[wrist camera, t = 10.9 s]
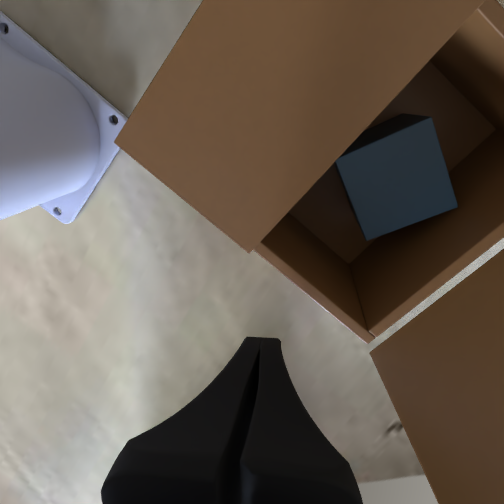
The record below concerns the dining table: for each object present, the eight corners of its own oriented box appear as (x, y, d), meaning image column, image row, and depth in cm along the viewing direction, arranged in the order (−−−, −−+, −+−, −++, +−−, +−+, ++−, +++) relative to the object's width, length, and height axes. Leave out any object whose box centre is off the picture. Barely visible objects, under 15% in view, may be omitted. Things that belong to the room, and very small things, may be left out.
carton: (506, 127, 19) (644, 144, 11) (347, 271, 23) (370, 355, 15) (317, -69, 17) (330, -210, 9) (180, 126, 21) (110, 141, 13)
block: (353, 213, 21) (366, 241, 17) (327, 147, 20) (334, 159, 15) (426, 185, 20) (458, 207, 16) (402, 112, 19) (432, 116, 14)
